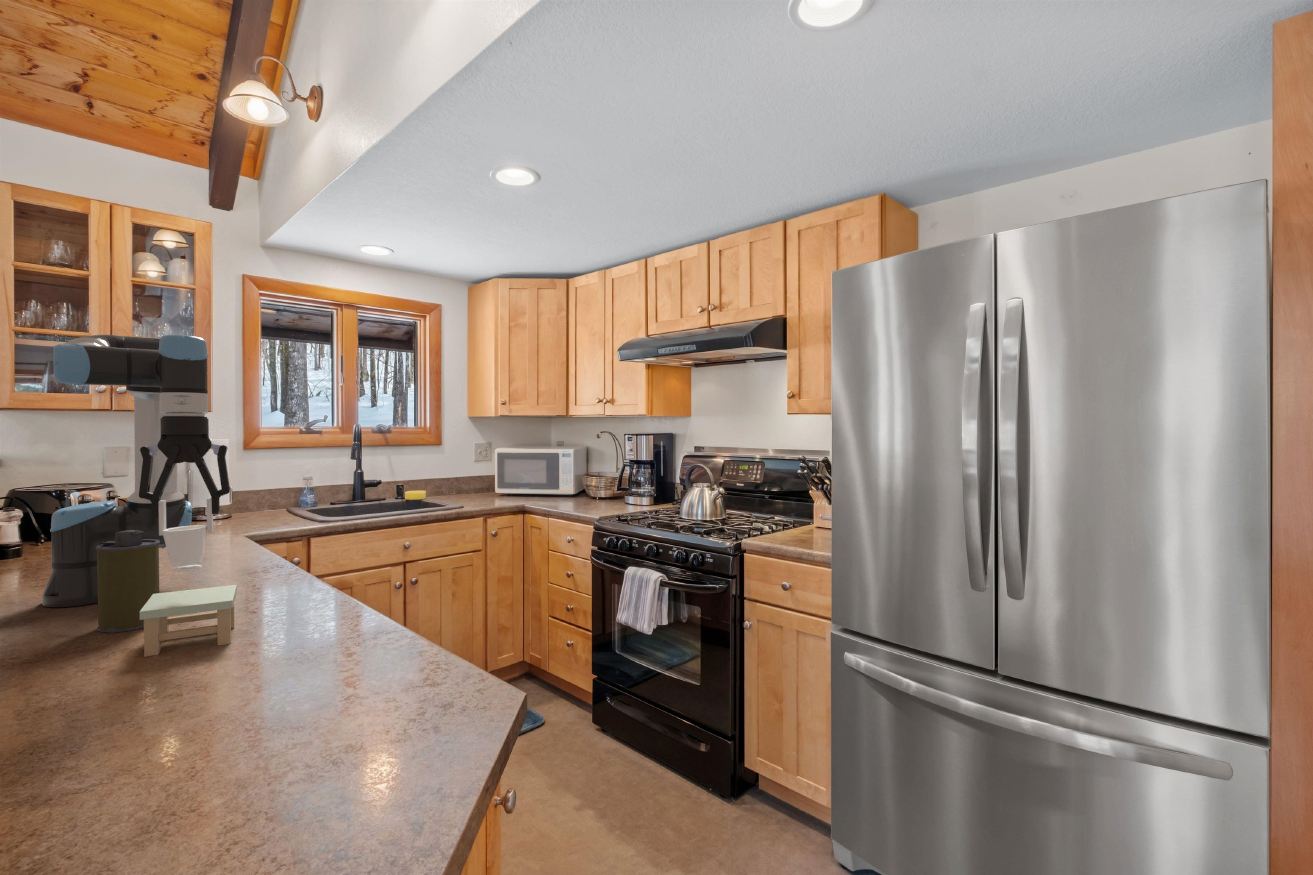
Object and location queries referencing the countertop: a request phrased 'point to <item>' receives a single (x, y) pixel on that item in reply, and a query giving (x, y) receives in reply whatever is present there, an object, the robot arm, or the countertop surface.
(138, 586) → the canister
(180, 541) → the cup
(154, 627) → the stool
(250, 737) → the countertop surface
